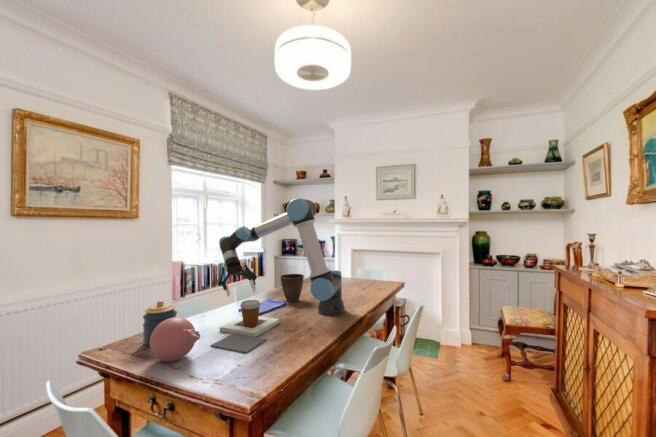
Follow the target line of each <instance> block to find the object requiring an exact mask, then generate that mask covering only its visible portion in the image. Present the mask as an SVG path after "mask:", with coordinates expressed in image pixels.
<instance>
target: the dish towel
mask: <svg viewBox="0 0 656 437" xmlns="http://www.w3.org/2000/svg"><path fill="white" fill-rule="evenodd" d="M259 302H260V301H259ZM286 306H287V301H279V300H273V299H266V300H263V301H261V302H260V307H259V315H258V316H261V315H264V314H267V313H270V312H273V311H276V310H279V309H281V308H284V307H286ZM237 310H238V312H240V313H242V310H241V308H239V309H237Z"/></svg>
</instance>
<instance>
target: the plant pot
mask: <svg viewBox="0 0 656 437" xmlns="http://www.w3.org/2000/svg"><path fill="white" fill-rule="evenodd" d="M279 278H280V284H281V289H282V291H283V294H284V297H285V300H286V303H287V302H288V303H297V302H299V300H300V298H301V294H302V290H303V285H304V278H305V275H304V274H302V273H301V274H300V273H289V274H282V275H280V277H279Z"/></svg>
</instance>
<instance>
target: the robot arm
mask: <svg viewBox="0 0 656 437" xmlns="http://www.w3.org/2000/svg"><path fill="white" fill-rule="evenodd" d="M316 207H317V206H316V205H315V203H314V202H313V201H312V200H309V199H306V198H305V199H304V198H301V197H298V198H293V199H292V200H290V201H289V202H288V203H287V206H286V209H285V212H284V213H282V214H280V215H278V216H276V217H274V218H271V219H269V220H267V221H265V222H263V223H260V224H257V225H256V226H253V227H252V228H249V227H247V226H245V225H241V226H240V227H238V228H237V229H235V231H234V232H232V234H231V235H224V236H223V237H220V239H219V241H218V245H219V249H220V251H221V254H222V257H223V262H224V265H225V267H224V266H223V267H221V270H220V273H221V274H220V275H219V279H218V283H217V285H218V286H221V287H222V289H223V291H225V293H226V296H227V297H230V295H231V292H230V288H229V285H228V280H229V278H230V277H231V276H242V277H244V278H245V279H247V280H248V281H249V284H250V287H251V289H252V292H253V293H255V292H256V291H257V288H256V280H257V278H258V276H257V275H256V274H255V272H253V271H252V270H251V269H250V268H249V267H248V265H247V264H244V265H241V262H240V259H239V255H238V253H237V250H236V249H237V248H238V247H240V246H241V245H242V244H243V243H250V242H256V241H258V240H259V239H261V238H263V237H266V236H268V235H271V234H273V233H275V232H277V231H280V230H282V229H284V228H287V227H289V226H291V225H293V227H294V228H296V229H297V232H298V234H299V238H300V240H301V245H302V248H303V251H304V253H305V254H304V255H305V257H306V260H307V264H308V268H309V270H310V273H309V274H310V275H309V280H310V287H309V288H310V289H309V290H310V293H311V295H312V297H314V298H315V299H316V300H318V301H319V303H318V306H317V312H318V313H319V314H320V315H324V316H338V315H339V316H340V315H342V314H345V312H346V307H345V304H344V301H343V300H344V299H343V293H342V291H343V290H342V288H343V287H342V285H343V284H342V277H343V276H342V271H341V270H333V269H330V268H328V267H327V264H326V261H325V258H324V254H323V251H322V248H321V244H320V242H319V238H318V235H317V232H316V228H315V225H314V223H315V221H316V218H315V215H316V213H317V208H316ZM226 272H227V275H226V276H225V278H224V274H225V273H226ZM223 278H224V279H223Z"/></svg>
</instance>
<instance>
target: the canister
mask: <svg viewBox="0 0 656 437" xmlns="http://www.w3.org/2000/svg"><path fill="white" fill-rule="evenodd" d="M144 312H145V314H144V315H143V316H142V319H143V320H144V321H143V324H142V327H143V339H142V342H143V346H144V347H147V348H150V338H151V335H152V332H153V331H154V329H155V328H156V327H157V325H159V324H160V323H161V322H162V321H164V320H166V319H169V318H173V317H177V314H178V311H177V310H176V306H175V305H173V304H172V303H164V301H163V300H158V301H157V303H156V304H153V305H151V306H149V307H148V308H146V309H145V310H144Z"/></svg>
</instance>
